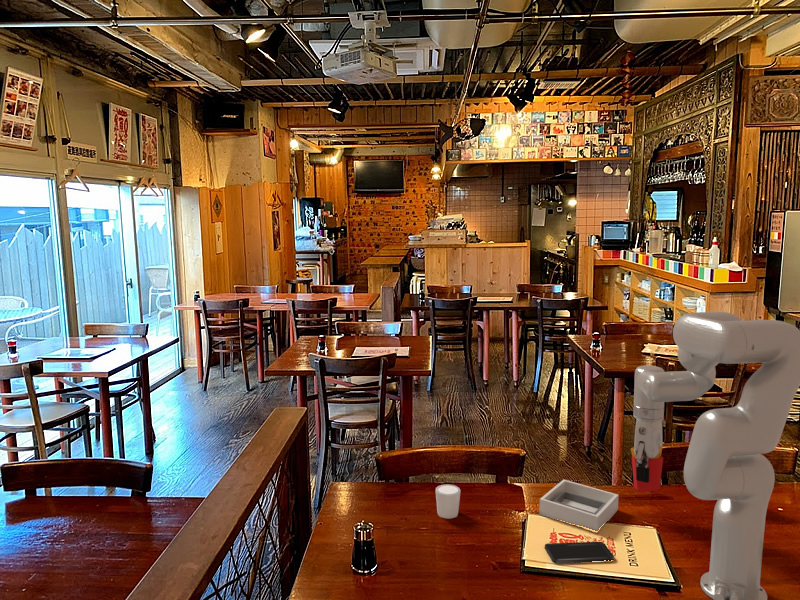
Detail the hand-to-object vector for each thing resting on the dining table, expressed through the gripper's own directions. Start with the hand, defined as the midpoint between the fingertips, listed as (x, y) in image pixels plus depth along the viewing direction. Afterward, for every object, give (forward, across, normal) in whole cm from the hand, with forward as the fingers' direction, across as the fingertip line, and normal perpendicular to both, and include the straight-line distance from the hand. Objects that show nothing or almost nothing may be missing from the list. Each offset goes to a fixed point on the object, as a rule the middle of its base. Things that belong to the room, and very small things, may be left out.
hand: (646, 476), depth 161 cm
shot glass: (+11, -32, +43) cm, 55 cm away
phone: (+12, -29, +7) cm, 32 cm away
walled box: (+11, -9, +15) cm, 21 cm away
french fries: (+3, 0, 0) cm, 3 cm away
